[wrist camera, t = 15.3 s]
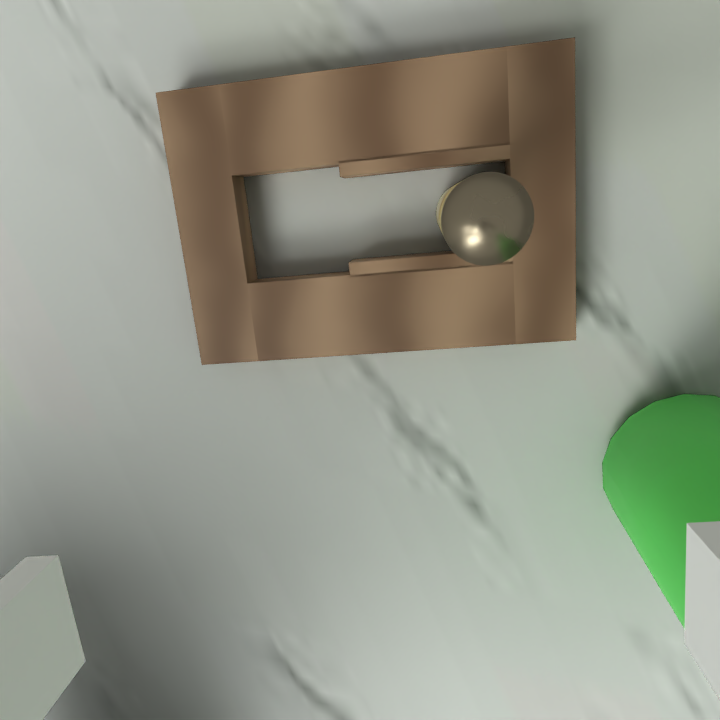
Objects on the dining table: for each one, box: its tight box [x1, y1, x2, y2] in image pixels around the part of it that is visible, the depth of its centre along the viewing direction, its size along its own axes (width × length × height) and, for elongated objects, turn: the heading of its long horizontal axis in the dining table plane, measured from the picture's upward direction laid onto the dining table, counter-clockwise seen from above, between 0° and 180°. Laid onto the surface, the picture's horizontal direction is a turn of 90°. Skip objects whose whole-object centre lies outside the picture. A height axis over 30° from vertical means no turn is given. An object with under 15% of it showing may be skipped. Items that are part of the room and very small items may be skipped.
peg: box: [436, 172, 534, 266], centre depth 25 cm, size 3×3×12 cm
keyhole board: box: [156, 37, 576, 365], centre depth 30 cm, size 20×14×2 cm
